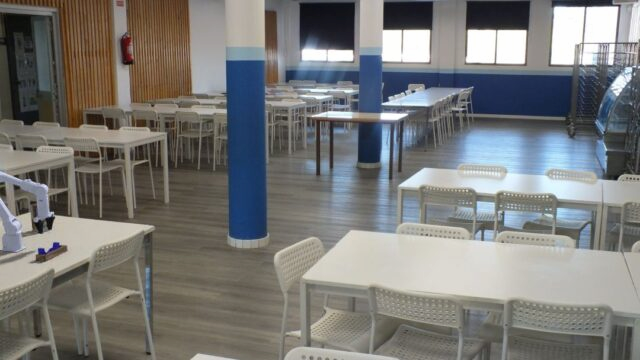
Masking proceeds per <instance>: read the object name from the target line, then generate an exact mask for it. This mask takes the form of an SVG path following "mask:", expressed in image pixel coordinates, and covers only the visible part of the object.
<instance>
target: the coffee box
mask: <svg viewBox="0 0 640 360" xmlns="http://www.w3.org/2000/svg"><path fill="white" fill-rule="evenodd" d="M29 210H30V211H29V212H30V219H31V220H30V221H31V230H32V232H37V233H38V230H37V228H36V226H35V225H34V224H33V221H34V218H35V217H37V216H38V209H37V202H36V203H32V204H29ZM41 221H43V222H44V224H43V233H46V232H50V231H51V230H48V229H47V223H46V220H45V219H42V220H41Z"/></svg>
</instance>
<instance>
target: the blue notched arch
mask: <svg viewBox="0 0 640 360" xmlns="http://www.w3.org/2000/svg"><path fill="white" fill-rule="evenodd" d="M60 245H61V244H60V242H58V241H54V242H52V247H50V248H49V249H48V250H47V251H46V250H45V247H39V248H37V254H42V255H46V254H48V253H50V252H52V251H54V250H56V249H58V248H60Z"/></svg>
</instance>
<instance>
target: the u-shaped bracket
mask: <svg viewBox="0 0 640 360" xmlns="http://www.w3.org/2000/svg"><path fill="white" fill-rule="evenodd" d="M67 252H68V245H66V244H60V248H58V249H56V250H54V251H52V252H50V253H48V254H46V255H42V254H38V253H37V254H35V261H36V262H37V261H38V262H47V261H50V260H53V259H55V258H56V257H58V256H61V255H62V254H64V253H67Z"/></svg>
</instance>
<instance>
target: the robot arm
mask: <svg viewBox="0 0 640 360" xmlns="http://www.w3.org/2000/svg"><path fill="white" fill-rule="evenodd" d="M5 182H6V183H8V184H11V185H15V186H18V187H20V189H21V190H22V191H26V192H28V193H31V194H34V195H35V196H36V203H37V209H38V216H37V217H35V218H34V221H33V224H34V225H35V226H36V228H37V230H38V232H37V233H38V234H39V235H43V234H44V232H43V224H44V222H43V221H41V220H42V219H45V220H46V223H47V229H48V230H50V231H52V229H53V225H54V221H55V219H56V216H55V212H54V211H50V203H49V195H48V193H49V187H48V185H47V184H45V183H40V182H34V181H32V179H30V178H28V179H24V180H23V179H20V178H18V177H16V176H13V175H11V174H8V173H6V172H4V171H0V183H5ZM0 219H1V221H2V226H3V228H4V229H3V230H4V232H5V233H4V234H3V235H2V237H1V244H2V250H1V251H2V252H9V253H10V252H13V253H18V252H20V251H23V250H24V249H27V246H23V237H22V231H21V229H22V226H23V224H22V222H21V220H19V219H18V218H17V217H16V216H14V215H13V214H12V213H11V211H10V210H9V208H8V206H7V205H6V204H5V202H4V201H3V200H2V197H0Z"/></svg>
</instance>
